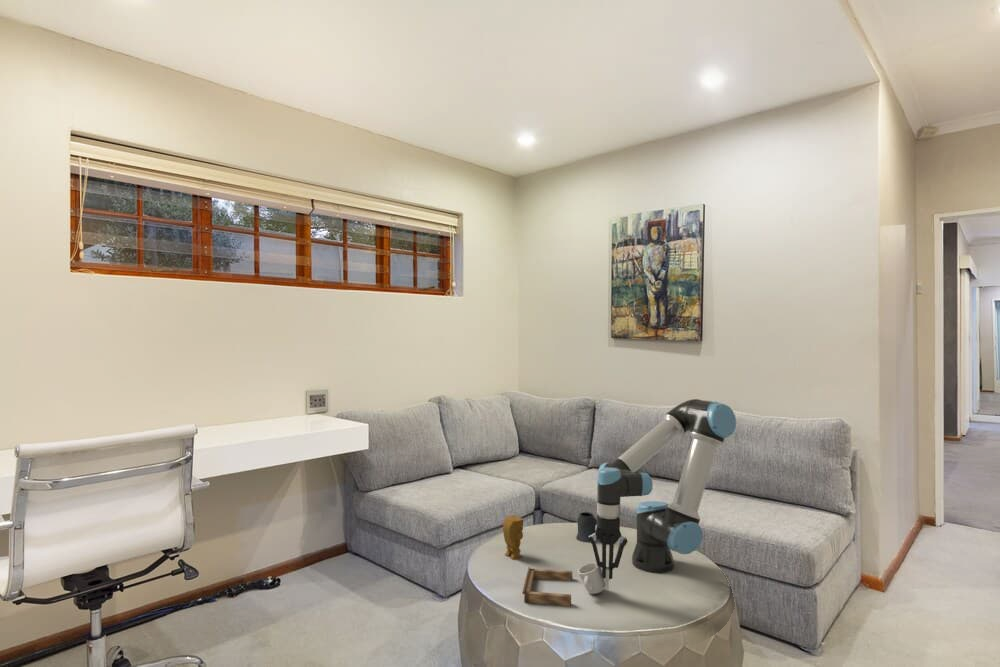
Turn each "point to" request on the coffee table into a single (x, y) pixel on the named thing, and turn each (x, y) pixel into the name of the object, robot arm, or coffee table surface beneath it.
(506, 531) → the figurine
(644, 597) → the coffee table surface
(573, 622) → the coffee table surface
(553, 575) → the brown wooden open frame
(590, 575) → the cup
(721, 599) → the coffee table surface
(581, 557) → the coffee table surface
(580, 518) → the mug
